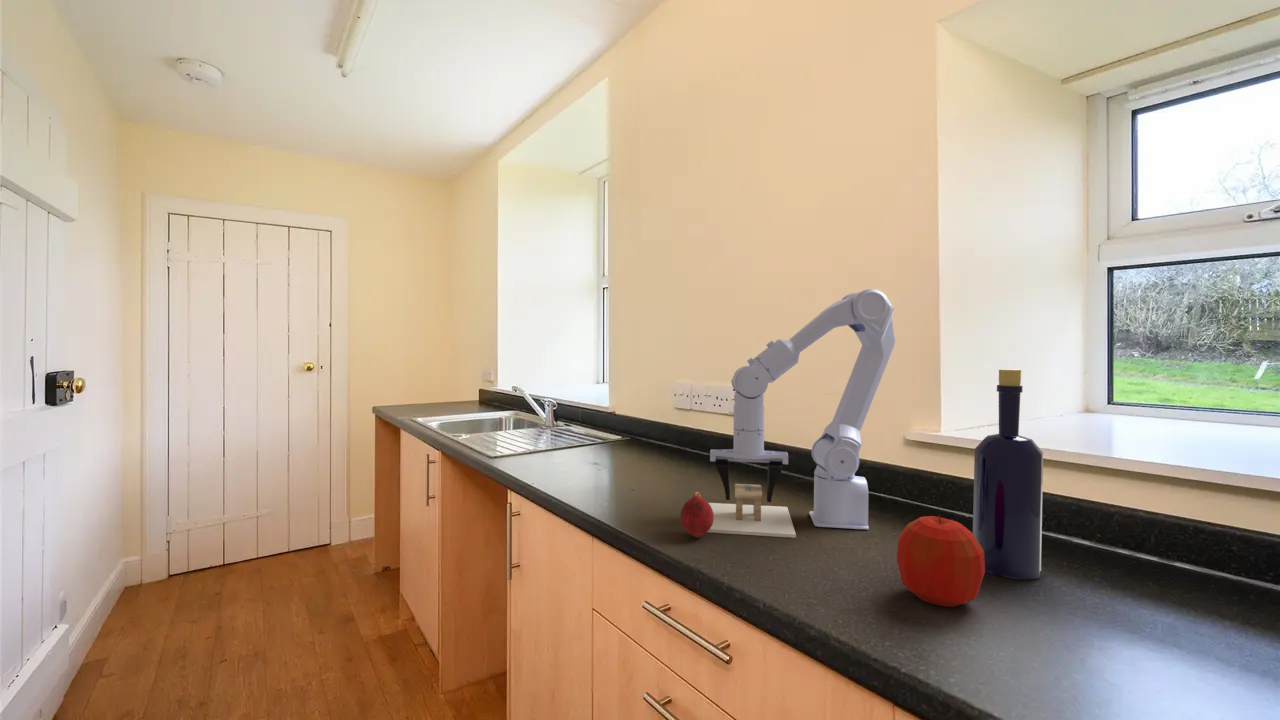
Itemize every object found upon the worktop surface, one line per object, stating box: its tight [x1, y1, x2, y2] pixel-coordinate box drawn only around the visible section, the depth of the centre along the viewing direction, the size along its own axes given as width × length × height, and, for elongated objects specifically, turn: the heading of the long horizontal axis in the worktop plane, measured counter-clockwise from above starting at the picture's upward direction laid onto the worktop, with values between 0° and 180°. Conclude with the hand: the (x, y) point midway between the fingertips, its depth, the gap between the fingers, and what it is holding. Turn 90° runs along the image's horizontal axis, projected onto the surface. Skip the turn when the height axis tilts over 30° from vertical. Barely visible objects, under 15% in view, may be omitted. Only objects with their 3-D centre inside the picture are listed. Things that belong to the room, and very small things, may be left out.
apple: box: [896, 514, 986, 608], centre depth 70 cm, size 10×10×12 cm
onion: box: [679, 491, 714, 539], centre depth 93 cm, size 6×6×8 cm
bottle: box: [972, 368, 1044, 581], centre depth 81 cm, size 9×9×30 cm
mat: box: [706, 502, 797, 539], centre depth 102 cm, size 16×16×1 cm
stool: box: [734, 483, 763, 521], centre depth 103 cm, size 5×5×6 cm
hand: (748, 499), depth 102 cm, fingers open, 7 cm apart
